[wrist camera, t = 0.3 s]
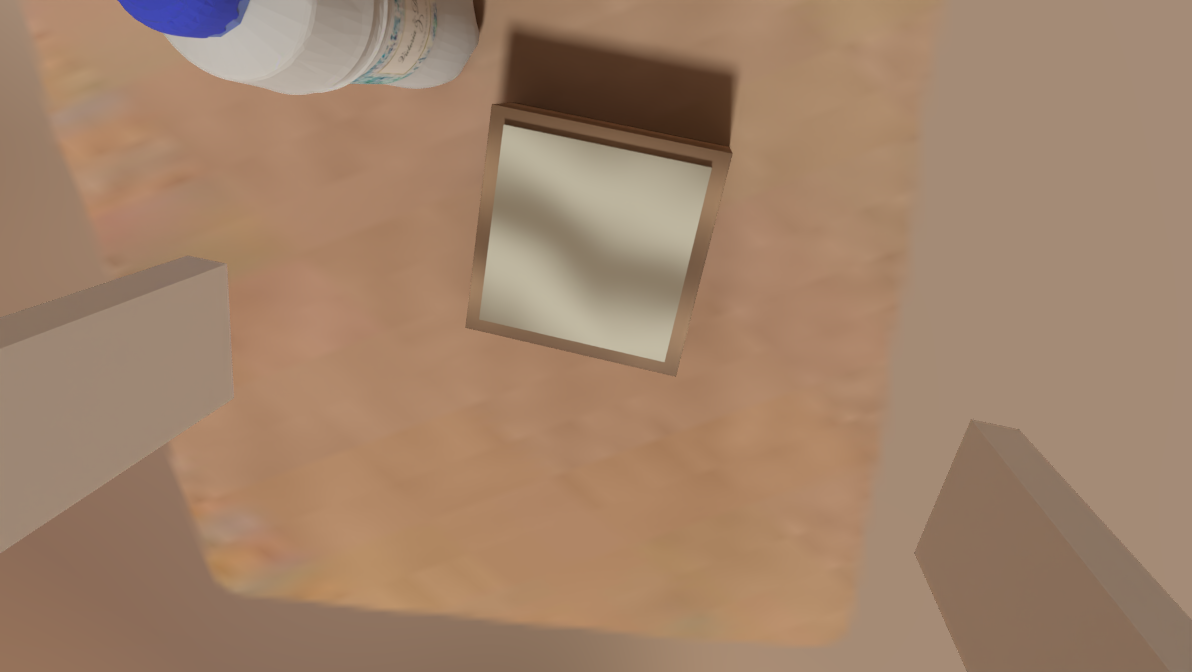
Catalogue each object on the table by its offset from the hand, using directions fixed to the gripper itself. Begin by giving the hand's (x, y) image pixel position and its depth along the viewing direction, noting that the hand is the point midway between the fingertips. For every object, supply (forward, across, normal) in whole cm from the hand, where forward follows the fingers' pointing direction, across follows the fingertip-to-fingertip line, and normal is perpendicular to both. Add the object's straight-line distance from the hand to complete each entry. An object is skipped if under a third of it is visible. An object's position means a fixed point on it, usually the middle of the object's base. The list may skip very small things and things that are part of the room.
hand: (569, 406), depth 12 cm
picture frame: (+27, -3, -3) cm, 27 cm away
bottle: (+27, -14, +6) cm, 31 cm away
